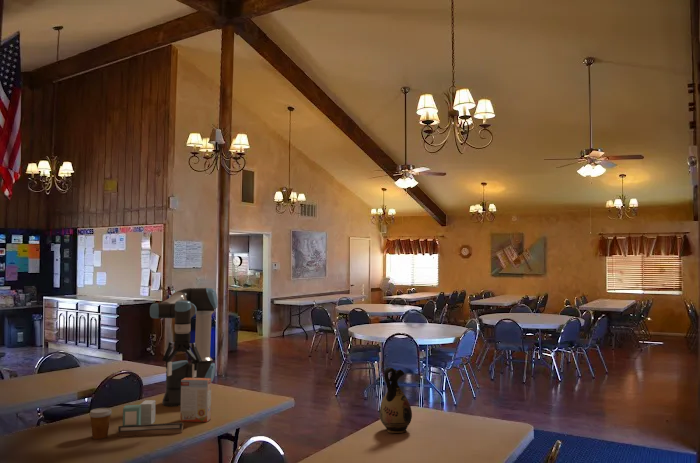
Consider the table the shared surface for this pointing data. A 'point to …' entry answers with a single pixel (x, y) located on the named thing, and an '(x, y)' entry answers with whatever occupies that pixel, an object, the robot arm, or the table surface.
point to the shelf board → (150, 429)
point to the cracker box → (195, 399)
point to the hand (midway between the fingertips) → (181, 376)
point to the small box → (148, 412)
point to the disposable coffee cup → (100, 422)
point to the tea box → (131, 415)
